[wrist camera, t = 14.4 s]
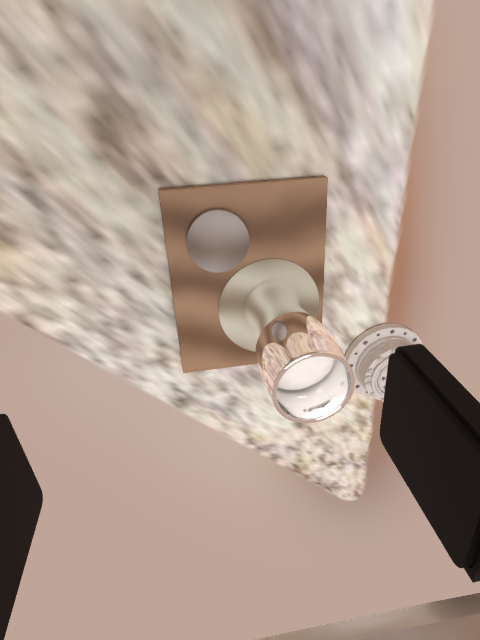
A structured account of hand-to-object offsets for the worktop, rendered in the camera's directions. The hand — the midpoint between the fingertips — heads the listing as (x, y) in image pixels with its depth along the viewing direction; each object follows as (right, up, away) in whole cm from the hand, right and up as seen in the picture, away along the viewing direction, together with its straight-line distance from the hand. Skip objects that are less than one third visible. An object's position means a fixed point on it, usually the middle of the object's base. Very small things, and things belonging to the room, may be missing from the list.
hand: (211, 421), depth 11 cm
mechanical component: (+18, -2, +43) cm, 47 cm away
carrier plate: (+2, +7, +35) cm, 36 cm away
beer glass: (+4, +4, +35) cm, 36 cm away
